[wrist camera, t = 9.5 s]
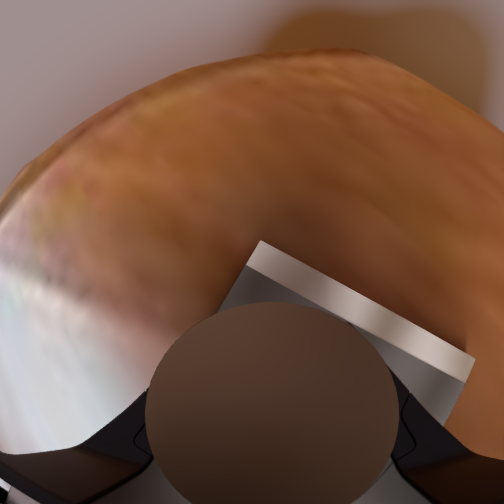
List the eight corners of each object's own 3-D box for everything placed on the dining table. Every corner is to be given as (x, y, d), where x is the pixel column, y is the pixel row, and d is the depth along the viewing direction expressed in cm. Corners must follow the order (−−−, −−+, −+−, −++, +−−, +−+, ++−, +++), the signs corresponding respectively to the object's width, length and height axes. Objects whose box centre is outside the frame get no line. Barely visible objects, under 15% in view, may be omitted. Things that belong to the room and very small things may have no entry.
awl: (356, 363, 15) (514, 412, 3) (274, 429, 14) (242, 602, 2) (289, 285, 16) (293, 148, 4) (208, 351, 16) (34, 369, 4)
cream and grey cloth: (466, 358, 16) (476, 359, 15) (292, 583, 12) (292, 592, 11) (262, 245, 19) (260, 239, 18) (112, 493, 16) (104, 499, 14)
